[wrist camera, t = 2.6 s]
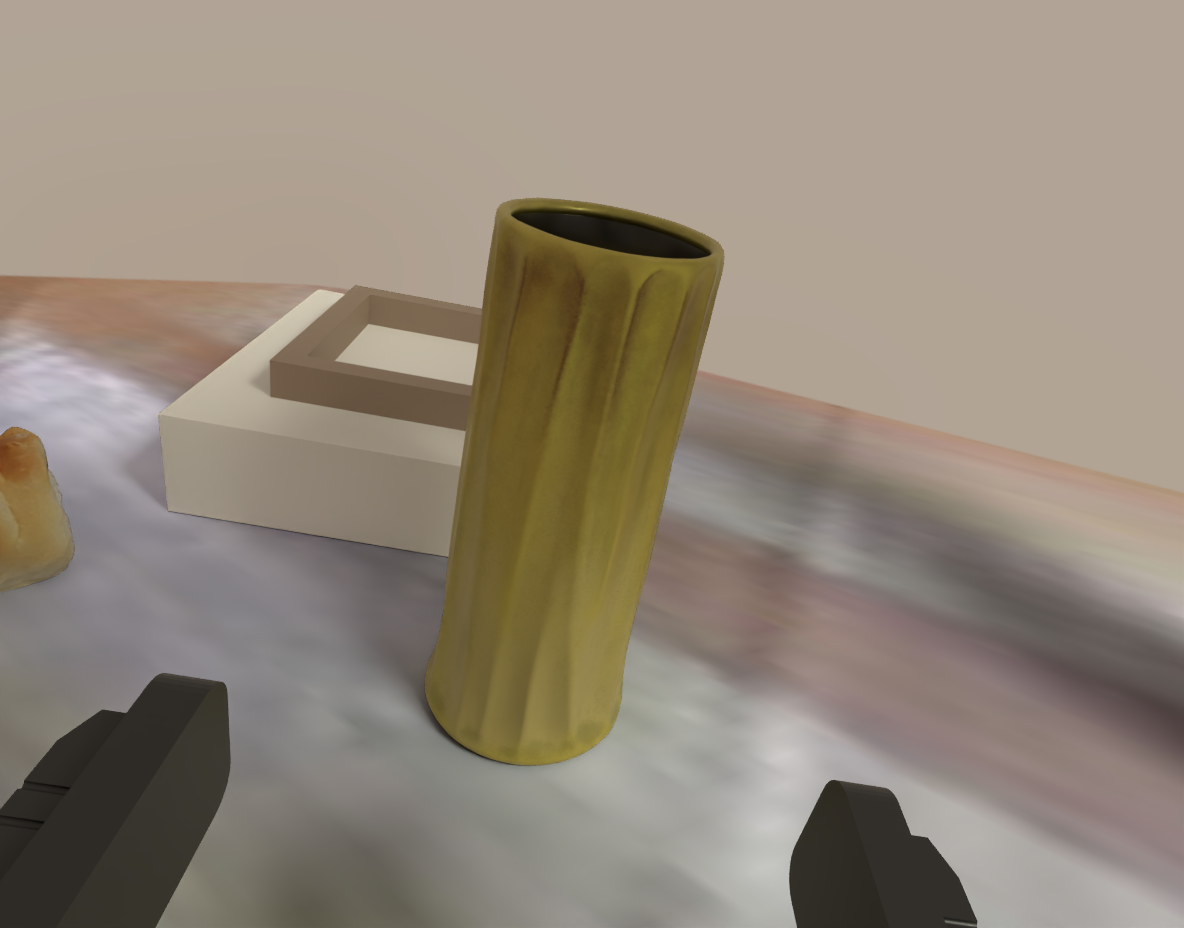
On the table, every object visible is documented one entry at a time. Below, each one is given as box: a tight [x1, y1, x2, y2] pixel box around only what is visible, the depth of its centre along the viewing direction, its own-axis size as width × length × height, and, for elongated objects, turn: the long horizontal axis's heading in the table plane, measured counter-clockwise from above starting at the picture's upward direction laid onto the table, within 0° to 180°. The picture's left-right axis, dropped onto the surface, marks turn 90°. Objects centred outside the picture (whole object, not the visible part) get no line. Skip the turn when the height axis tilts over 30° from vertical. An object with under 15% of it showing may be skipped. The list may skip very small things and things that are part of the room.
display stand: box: [158, 285, 482, 557], centre depth 34 cm, size 16×16×6 cm
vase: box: [425, 198, 724, 765], centre depth 20 cm, size 6×6×14 cm
